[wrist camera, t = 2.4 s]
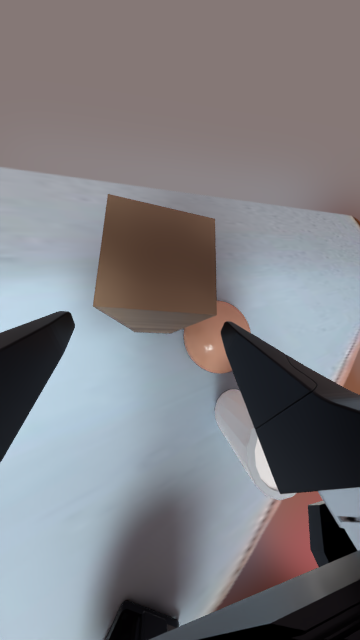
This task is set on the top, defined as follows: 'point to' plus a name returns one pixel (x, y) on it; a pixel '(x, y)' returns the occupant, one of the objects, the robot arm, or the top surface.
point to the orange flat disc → (212, 338)
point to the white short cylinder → (245, 441)
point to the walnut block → (156, 267)
